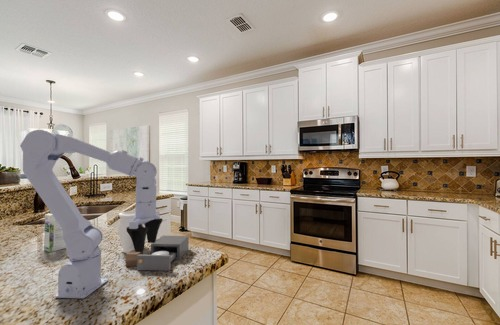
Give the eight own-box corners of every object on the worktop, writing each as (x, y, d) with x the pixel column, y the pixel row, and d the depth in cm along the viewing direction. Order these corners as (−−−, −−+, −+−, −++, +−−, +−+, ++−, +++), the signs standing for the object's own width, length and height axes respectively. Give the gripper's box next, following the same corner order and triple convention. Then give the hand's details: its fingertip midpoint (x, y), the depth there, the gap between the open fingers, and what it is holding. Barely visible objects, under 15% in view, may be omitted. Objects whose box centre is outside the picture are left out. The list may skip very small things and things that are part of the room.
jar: (135, 255, 87) (135, 215, 88) (112, 253, 89) (112, 214, 90) (152, 246, 98) (153, 210, 98) (131, 244, 100) (131, 209, 100)
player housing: (179, 259, 83) (179, 244, 83) (150, 259, 84) (150, 243, 84) (188, 249, 93) (188, 235, 93) (162, 249, 94) (162, 235, 94)
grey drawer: (168, 271, 74) (168, 256, 74) (136, 270, 74) (136, 256, 74) (180, 257, 85) (180, 245, 85) (152, 257, 85) (152, 244, 85)
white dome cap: (164, 262, 77) (164, 257, 77) (148, 261, 77) (148, 256, 77) (171, 256, 82) (171, 251, 82) (156, 255, 83) (156, 250, 83)
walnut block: (137, 266, 78) (137, 254, 78) (125, 265, 78) (125, 254, 78) (143, 261, 82) (143, 249, 82) (132, 261, 82) (132, 249, 82)
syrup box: (43, 250, 93) (43, 213, 93) (60, 245, 98) (61, 211, 99) (50, 252, 90) (50, 215, 91) (67, 247, 96) (68, 212, 96)
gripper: (147, 205, 63) (147, 256, 63) (168, 198, 77) (168, 239, 77) (121, 205, 63) (121, 255, 63) (147, 198, 78) (147, 238, 77)
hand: (145, 246), depth 70 cm, fingers open, 7 cm apart
